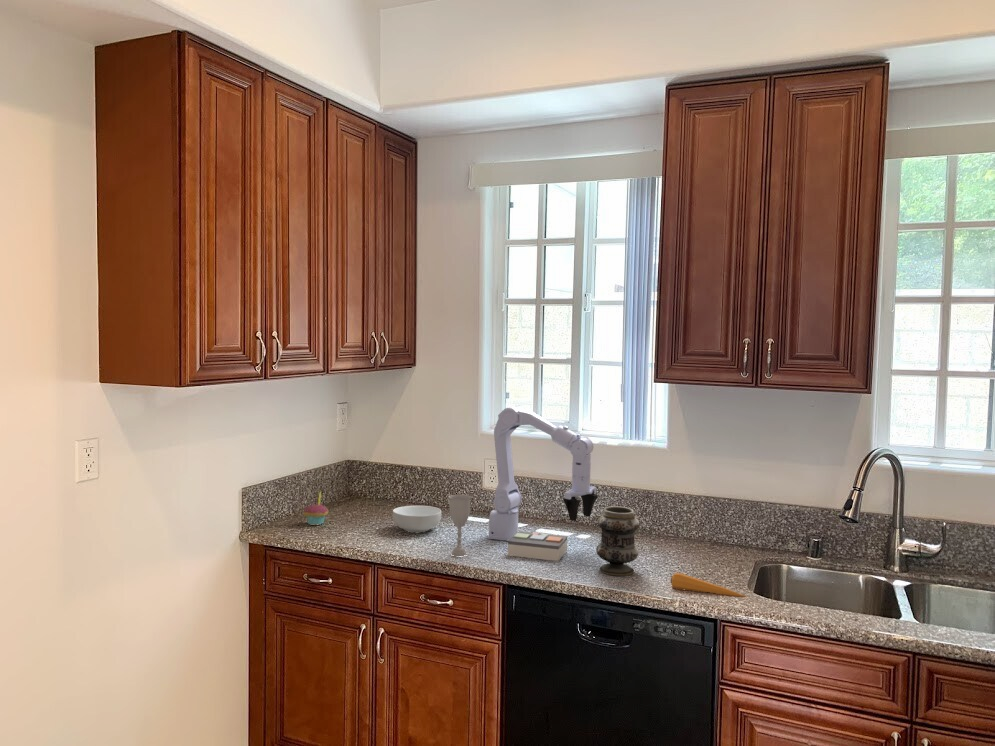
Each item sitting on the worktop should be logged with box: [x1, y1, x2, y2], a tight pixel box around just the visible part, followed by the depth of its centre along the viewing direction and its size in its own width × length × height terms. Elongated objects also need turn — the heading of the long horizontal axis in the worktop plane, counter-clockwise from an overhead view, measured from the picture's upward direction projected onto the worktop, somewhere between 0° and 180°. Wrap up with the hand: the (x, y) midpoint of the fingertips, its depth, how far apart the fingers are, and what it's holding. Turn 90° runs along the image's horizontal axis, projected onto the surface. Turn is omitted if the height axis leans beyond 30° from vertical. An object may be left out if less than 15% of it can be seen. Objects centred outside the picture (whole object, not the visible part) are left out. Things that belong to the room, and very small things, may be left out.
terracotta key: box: [546, 536, 562, 543], centre depth 227 cm, size 4×4×2 cm
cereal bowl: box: [392, 505, 442, 533], centre depth 254 cm, size 17×17×7 cm
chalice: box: [448, 494, 472, 556], centre depth 225 cm, size 7×7×18 cm
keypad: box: [507, 530, 568, 562], centre depth 229 cm, size 16×12×5 cm
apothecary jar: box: [595, 505, 640, 577], centre depth 212 cm, size 12×12×18 cm
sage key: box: [514, 533, 530, 539], centre depth 231 cm, size 4×4×2 cm
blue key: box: [530, 535, 546, 541], centre depth 229 cm, size 4×4×2 cm
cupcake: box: [303, 489, 329, 525], centre depth 259 cm, size 9×8×12 cm
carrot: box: [670, 572, 747, 598], centre depth 196 cm, size 20×4×4 cm, turn 69°
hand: (580, 518), depth 234 cm, fingers open, 7 cm apart
